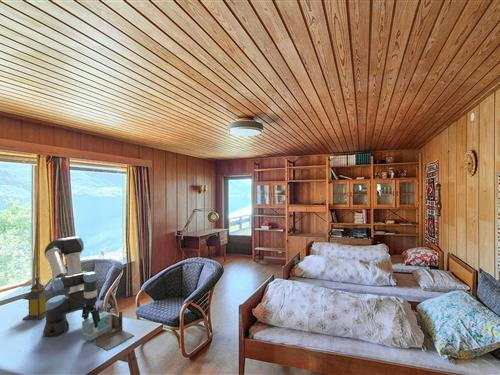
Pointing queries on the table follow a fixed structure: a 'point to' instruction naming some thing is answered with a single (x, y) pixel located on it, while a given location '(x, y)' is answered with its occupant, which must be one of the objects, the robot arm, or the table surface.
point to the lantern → (37, 302)
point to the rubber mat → (114, 340)
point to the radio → (103, 326)
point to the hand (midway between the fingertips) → (91, 330)
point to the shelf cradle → (115, 324)
